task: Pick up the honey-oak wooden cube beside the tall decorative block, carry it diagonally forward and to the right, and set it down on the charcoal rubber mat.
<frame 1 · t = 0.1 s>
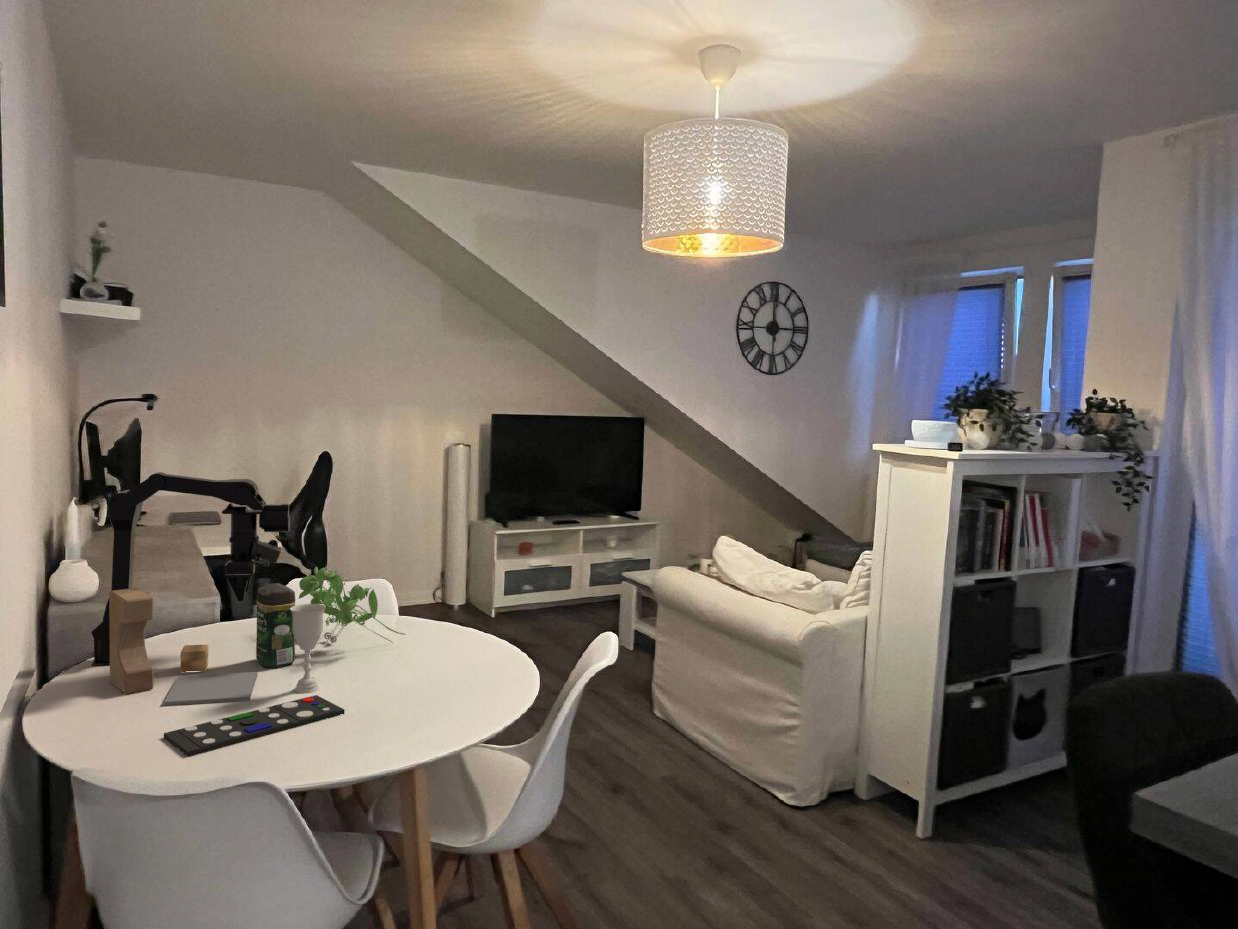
hand: (243, 596, 204), 15 cm above the table, tool pointing down, fingers open, 9 cm apart
decorative block: (131, 686, 182), on the table
remote control: (258, 729, 164), on the table
chalice: (306, 689, 185), on the table
coffee jar: (275, 663, 201), on the table
plant cuttings: (349, 641, 221), on the table
charcoal mat: (213, 689, 182), on the table
oak cube: (194, 669, 194), on the table
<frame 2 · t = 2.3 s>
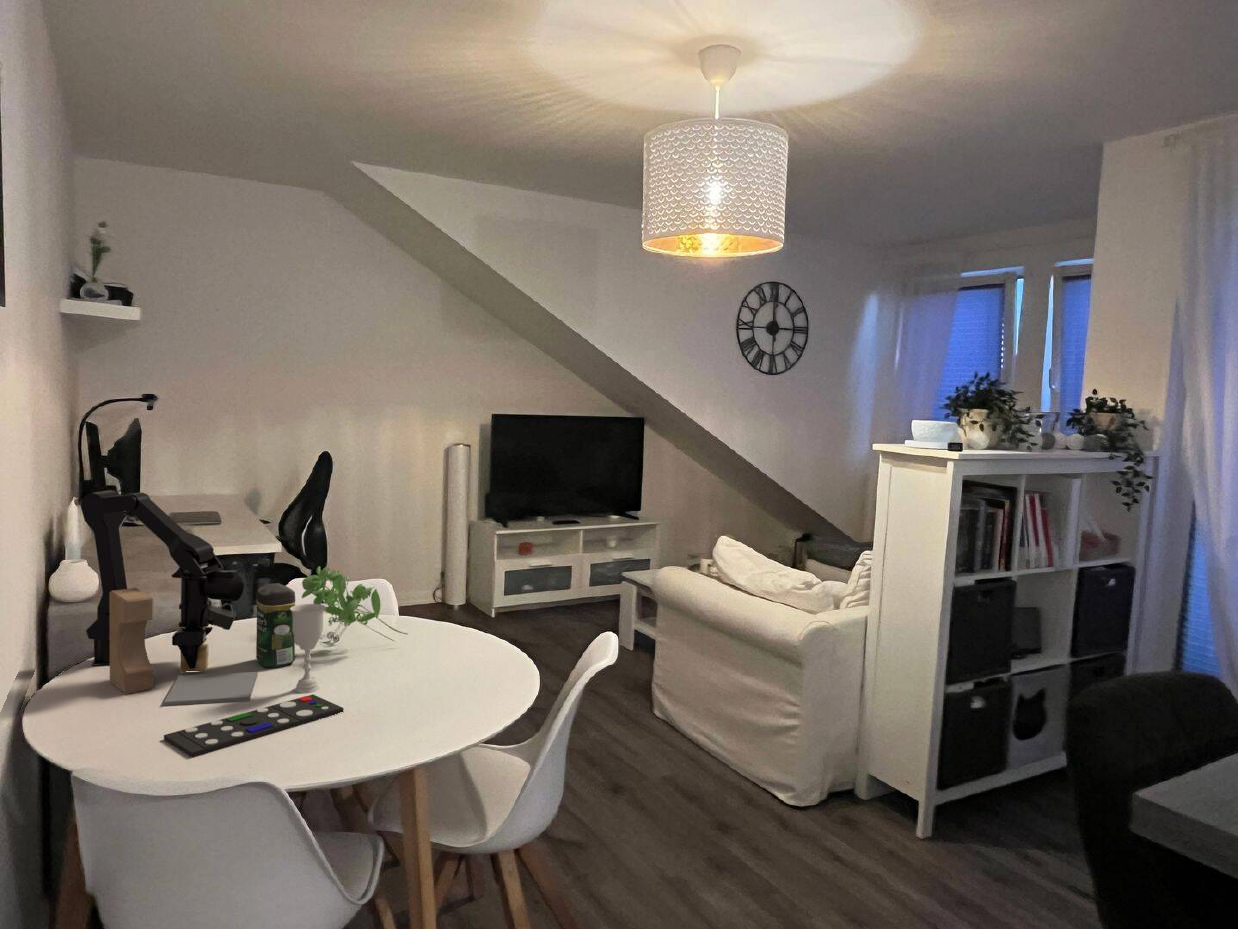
hand: (194, 664, 194), 1 cm above the table, tool pointing down, fingers closed on oak cube, 5 cm apart
oak cube: (194, 669, 194), on the table, touching gripper
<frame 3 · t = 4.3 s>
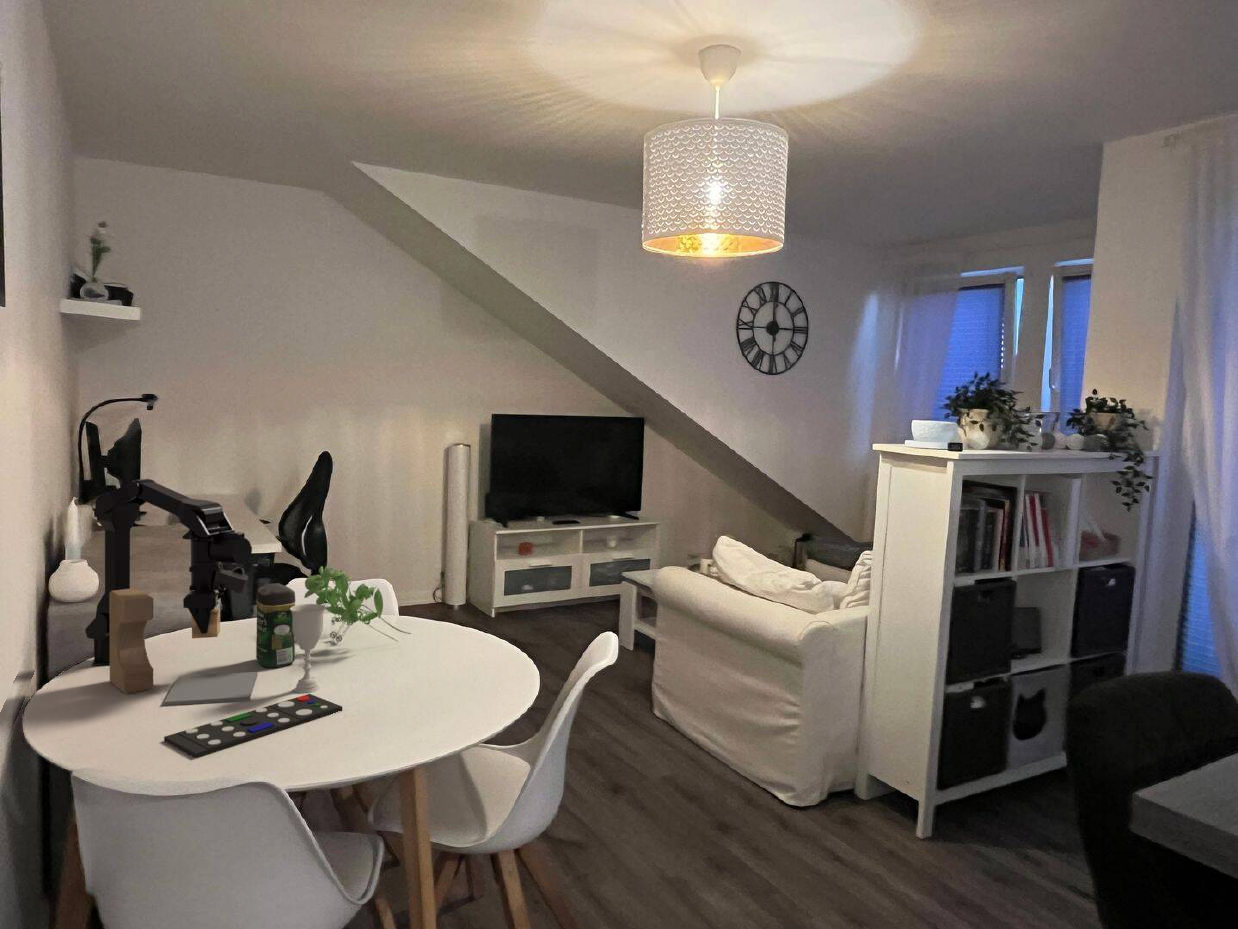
hand: (206, 630, 187), 11 cm above the table, tool pointing down, fingers closed on oak cube, 5 cm apart
oak cube: (206, 634, 187), point 10 cm above the table, touching gripper
when the fingers open (3 cm above the table, at t = 6.4 s): oak cube drops 1 cm, resting on charcoal mat.
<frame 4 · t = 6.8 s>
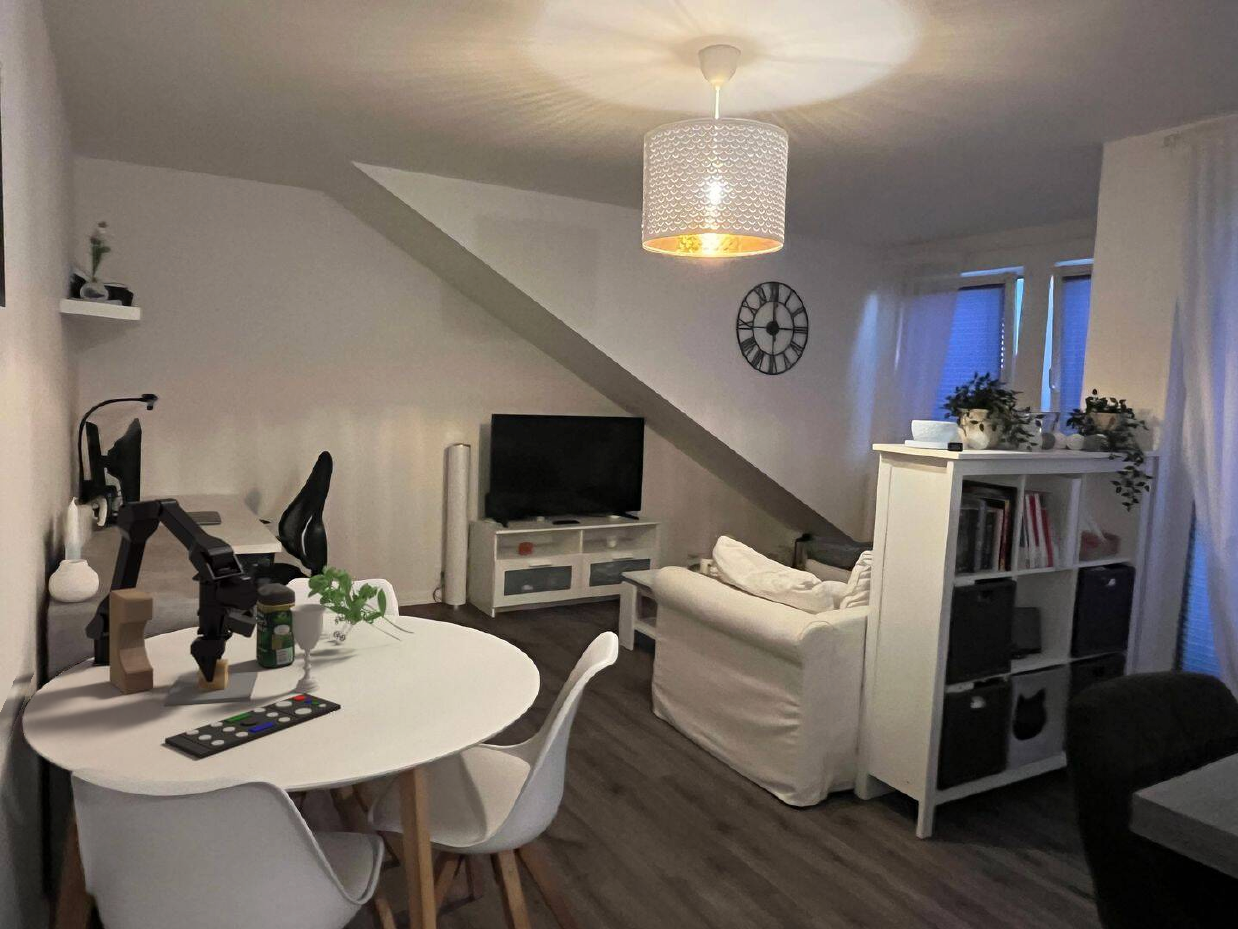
hand: (213, 674, 181), 3 cm above the table, tool pointing down, fingers open, 9 cm apart
oak cube: (213, 686, 182), point 1 cm above the table, touching charcoal mat
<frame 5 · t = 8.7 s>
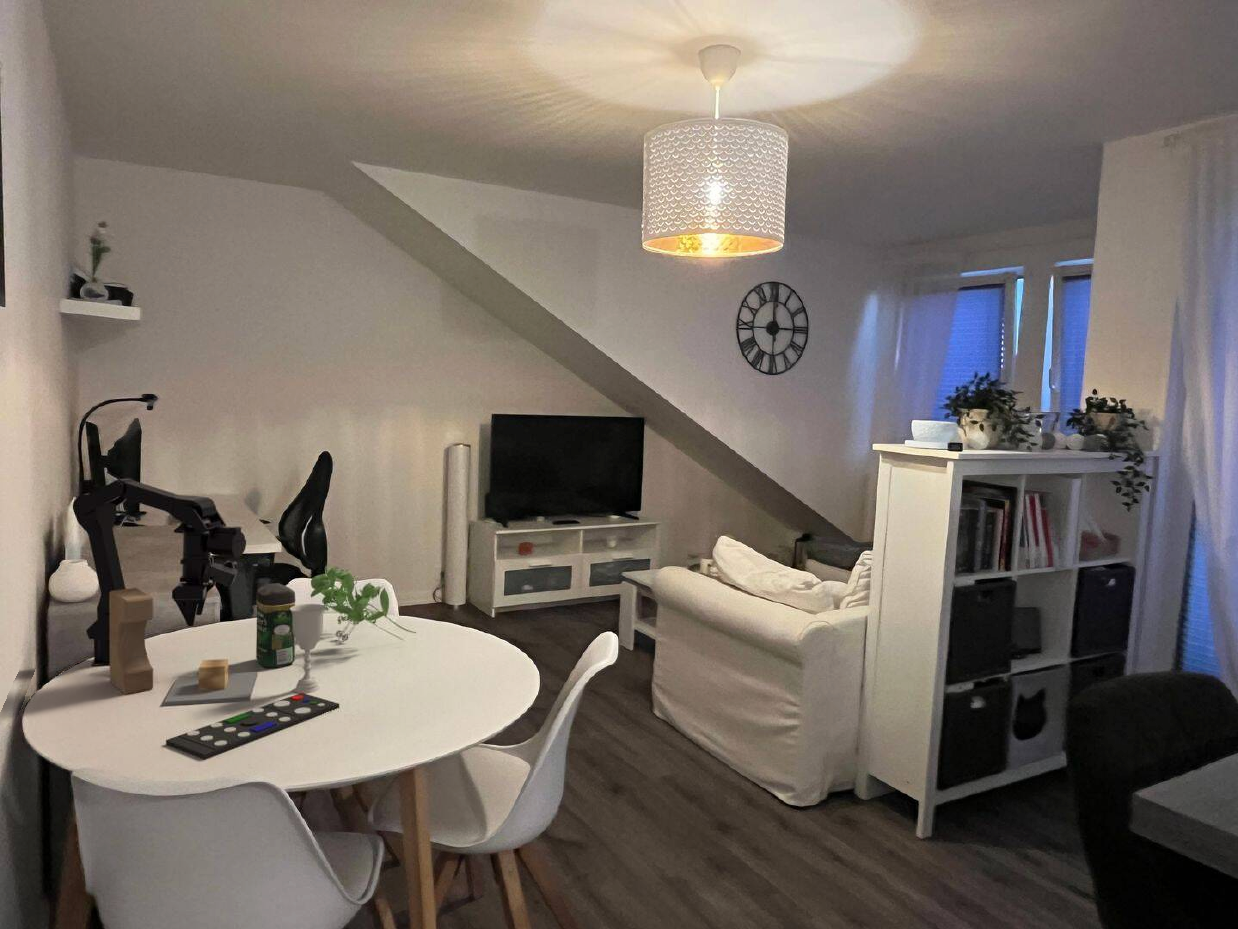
hand: (194, 620, 194), 11 cm above the table, tool pointing down, fingers open, 9 cm apart
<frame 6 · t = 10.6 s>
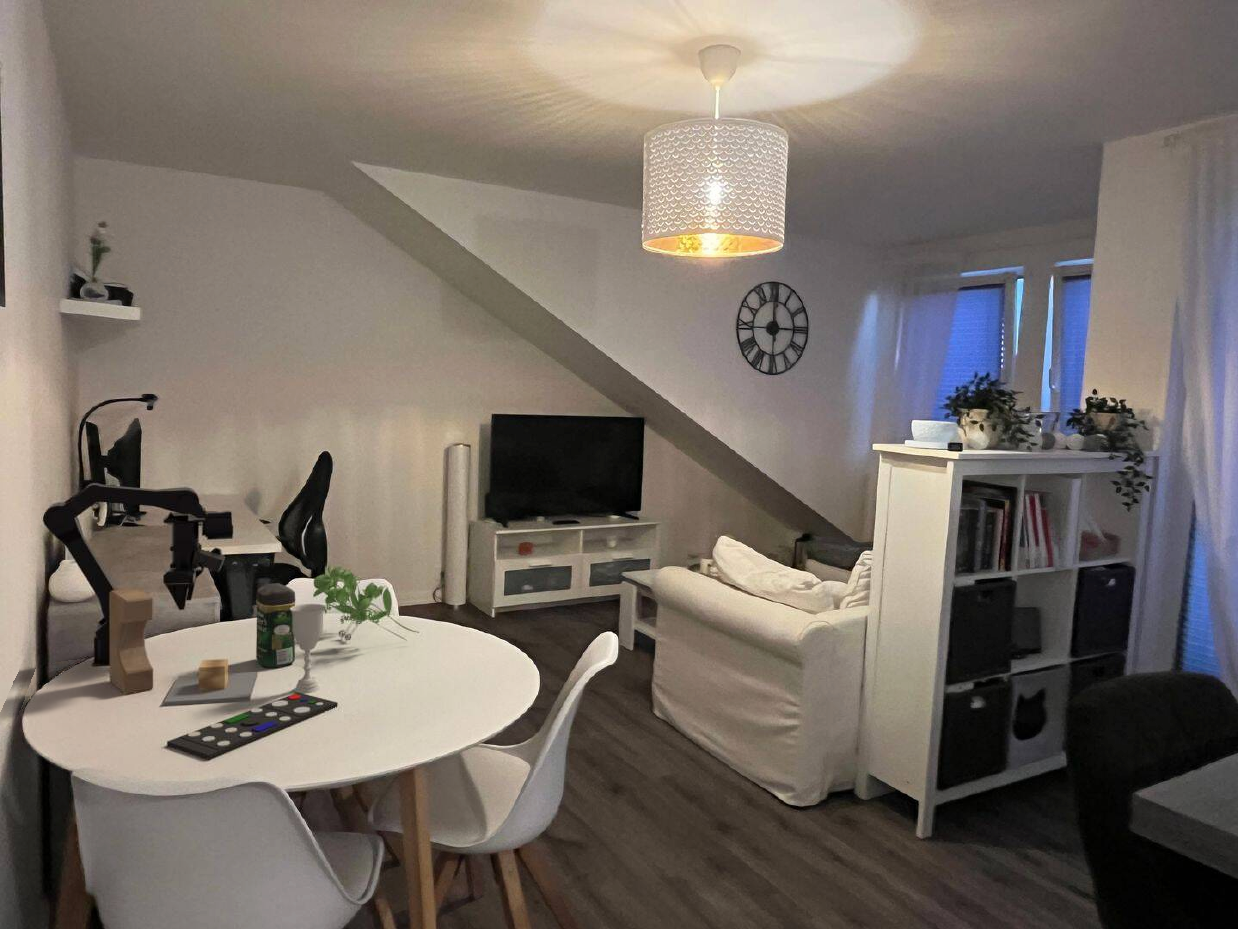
hand: (185, 605, 203), 12 cm above the table, tool pointing down, fingers open, 9 cm apart
at the end: oak cube inside the target area on the charcoal mat (0.1 cm from its centre), point 0.8 cm above the charcoal mat's base; oak cube tilted 0°; the gripper is holding nothing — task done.
